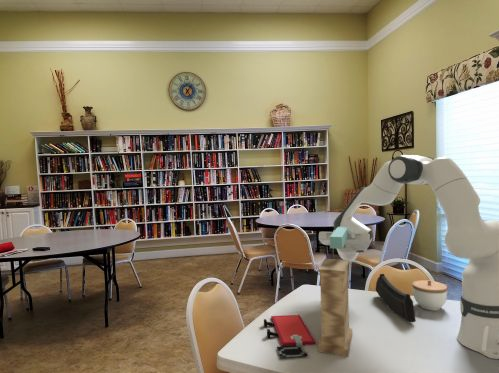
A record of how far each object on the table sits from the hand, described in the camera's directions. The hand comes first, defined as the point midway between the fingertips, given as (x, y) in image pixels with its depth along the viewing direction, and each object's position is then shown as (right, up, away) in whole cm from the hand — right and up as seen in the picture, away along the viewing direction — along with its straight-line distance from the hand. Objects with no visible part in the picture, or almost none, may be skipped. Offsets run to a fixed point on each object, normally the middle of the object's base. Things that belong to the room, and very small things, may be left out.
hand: (342, 232), depth 131 cm
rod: (-3, -3, -7) cm, 8 cm away
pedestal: (-8, -34, -21) cm, 41 cm away
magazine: (+22, -32, +5) cm, 39 cm away
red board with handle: (-23, -35, -15) cm, 44 cm away
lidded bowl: (+38, -32, +5) cm, 49 cm away
